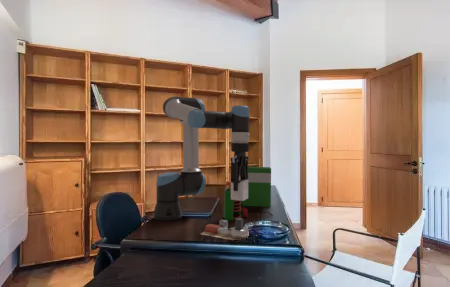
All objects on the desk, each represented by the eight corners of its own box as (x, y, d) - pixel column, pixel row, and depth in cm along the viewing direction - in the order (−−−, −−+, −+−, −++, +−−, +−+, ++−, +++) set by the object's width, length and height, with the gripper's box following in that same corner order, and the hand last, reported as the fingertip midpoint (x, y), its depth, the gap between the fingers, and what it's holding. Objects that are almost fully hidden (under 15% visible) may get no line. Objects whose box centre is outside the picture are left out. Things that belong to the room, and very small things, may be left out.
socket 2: (230, 199, 124) (230, 179, 124) (236, 197, 129) (236, 178, 129) (242, 200, 121) (243, 180, 121) (248, 198, 126) (248, 179, 126)
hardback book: (269, 204, 192) (270, 167, 191) (270, 206, 184) (271, 168, 184) (242, 203, 193) (243, 166, 193) (242, 205, 186) (242, 167, 185)
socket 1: (217, 230, 133) (217, 221, 133) (221, 227, 137) (221, 219, 137) (225, 231, 132) (225, 222, 132) (229, 228, 135) (229, 220, 135)
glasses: (236, 212, 171) (236, 203, 171) (261, 210, 177) (261, 202, 176) (246, 219, 158) (246, 209, 158) (273, 216, 164) (273, 207, 163)
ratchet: (202, 233, 129) (203, 216, 129) (211, 228, 136) (212, 212, 136) (244, 240, 120) (244, 222, 120) (251, 235, 127) (251, 218, 127)
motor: (239, 222, 149) (239, 183, 148) (221, 221, 150) (222, 182, 150) (242, 217, 159) (242, 180, 158) (225, 216, 160) (226, 179, 160)
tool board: (200, 236, 128) (200, 234, 128) (214, 228, 139) (214, 226, 139) (251, 246, 117) (251, 243, 117) (262, 236, 129) (262, 234, 128)
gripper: (239, 142, 115) (238, 202, 115) (256, 142, 131) (255, 194, 132) (222, 142, 118) (221, 200, 118) (240, 142, 135) (240, 192, 135)
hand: (239, 197), depth 125 cm, fingers closed on socket 2, 6 cm apart
